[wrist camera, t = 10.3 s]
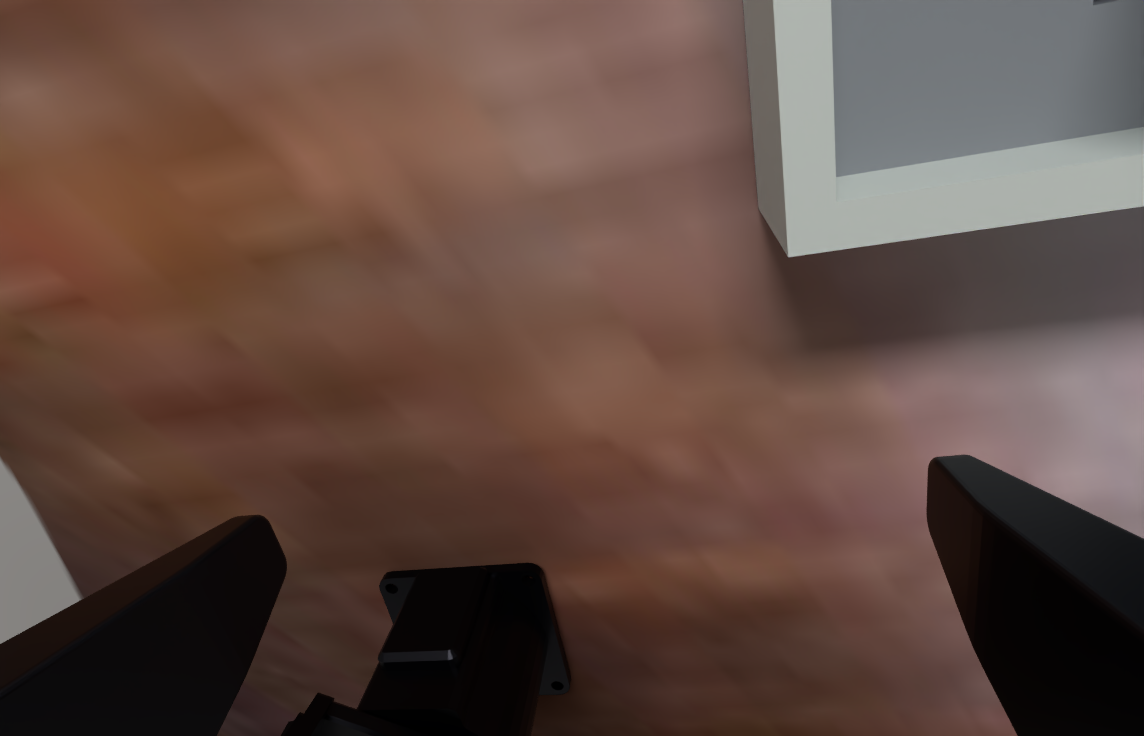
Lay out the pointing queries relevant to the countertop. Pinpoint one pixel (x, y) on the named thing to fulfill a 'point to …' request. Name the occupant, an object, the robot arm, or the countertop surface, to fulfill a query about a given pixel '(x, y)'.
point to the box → (941, 115)
